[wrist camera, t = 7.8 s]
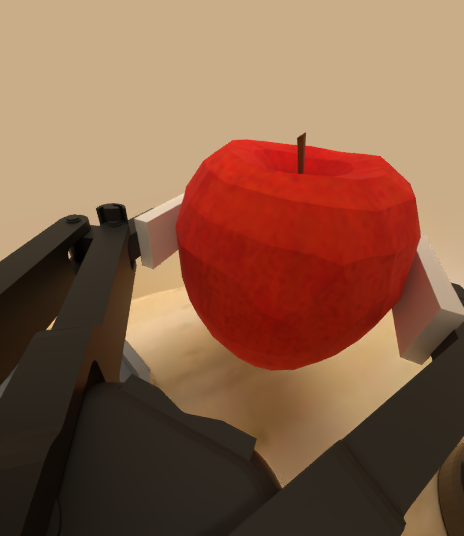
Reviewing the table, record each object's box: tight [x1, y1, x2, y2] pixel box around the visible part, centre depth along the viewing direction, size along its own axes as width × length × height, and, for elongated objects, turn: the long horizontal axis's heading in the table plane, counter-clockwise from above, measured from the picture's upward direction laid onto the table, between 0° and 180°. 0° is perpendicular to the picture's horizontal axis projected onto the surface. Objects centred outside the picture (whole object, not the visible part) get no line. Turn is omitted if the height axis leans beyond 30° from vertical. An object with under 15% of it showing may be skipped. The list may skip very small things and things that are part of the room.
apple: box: [175, 133, 421, 370], centre depth 14 cm, size 12×12×13 cm
